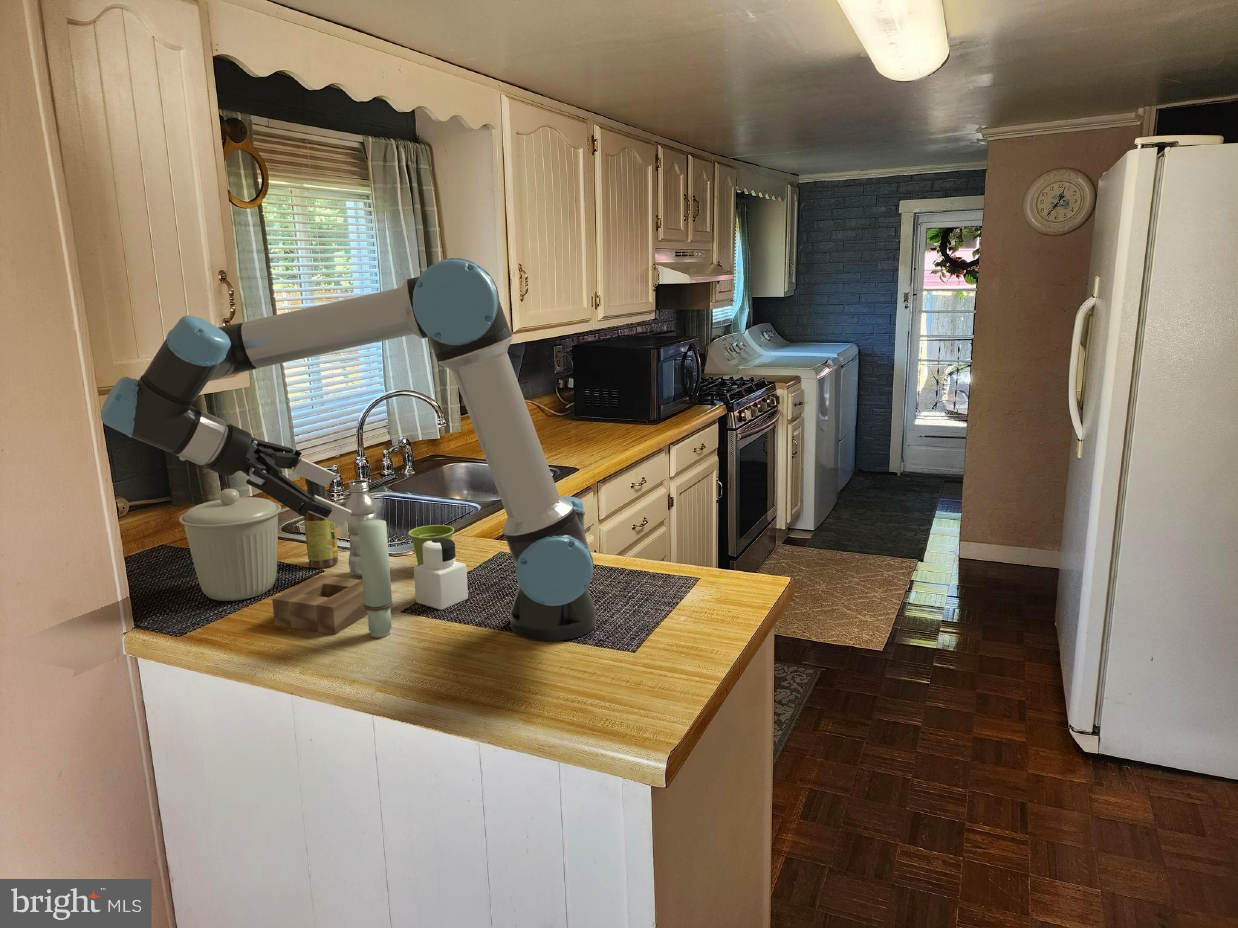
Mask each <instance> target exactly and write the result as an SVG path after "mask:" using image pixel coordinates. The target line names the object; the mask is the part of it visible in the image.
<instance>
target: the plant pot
mask: <svg viewBox="0 0 1238 928" xmlns="http://www.w3.org/2000/svg"><path fill="white" fill-rule="evenodd" d="M454 533H455V528H454V527H452V526H449V525H445V524H443V525H442V524H432V525H423V526H417V527H415V528H413V529H411V530H409V531H408V533H407V534H408V536H409V537H410V539H411V542H412V544H413V548H414V552H415V556H416V562H417V566H420V565H422V564H424V563H423V548H422V545H423V544H424V543H425V542H427V541H429V540H431V539H436V538H446V539H450V540H452V538H453V534H454Z"/></svg>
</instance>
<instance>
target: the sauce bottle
mask: <svg viewBox="0 0 1238 928" xmlns="http://www.w3.org/2000/svg"><path fill="white" fill-rule="evenodd" d="M304 480H305V481H304V482H305V484H306V492H307V493H308V494H310V495H311V496H312V497H314V495H316V496H319V497H321V498H323V499H325V500H328V501H330V499H329V497H328V495H327V489H326V488H327V487H324V486H322V485H320V484H318V483H315V482H313V481H311V480H309V479H306V478H304ZM303 518H304V519H303V522H304V533H305V541H306V542H305V543H306V551H307V559H308V563H309V566H310V568H315V569H324V568H330V567H332V566H336V564H337V563H338V562H339V549H338V548H339V547H338V538H337V536H338V535H337V528H336V527H337V526H336V525H337V524H336V523H334V522H331V521H329V520H327V519H324V518H322V517H319V516H317V515H315V514H312V513H310V512H307V514H306V515H305V516H303Z"/></svg>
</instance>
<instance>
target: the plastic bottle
mask: <svg viewBox="0 0 1238 928" xmlns="http://www.w3.org/2000/svg"><path fill="white" fill-rule="evenodd" d="M348 486H349V488H348V491H349V492H350V495H349V497H348V498H347V500H346V502H345V504H344V508H346V509H348V510H351V512H352V513H351V515H350V516H349V518H348V519H347V520H346V522H347V526H348V527H347V528H348V533H349V534H348V535H349V555H348V568H349V572H350V573H351V574H352V575H353V576H354V577H359V578H362V570H361V558H360V545H359V533H358V524H359V523H360V522H363V521H367V520H377V512H378V505H377V502H376V500H375V499H374V497H373V496H372V495H371V494H370V493H369V491H370V488H369V482H368V480H366V479H358V480H357V479H356V480H351V481H349V485H348Z"/></svg>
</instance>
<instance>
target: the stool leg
mask: <svg viewBox="0 0 1238 928" xmlns="http://www.w3.org/2000/svg"><path fill="white" fill-rule="evenodd" d="M358 533H359V545H360V558H361V570H362V577H361V578H362V579H361V580H362V582H363V594H364V608H365V609H366V610H367V613H368V615H367V624H368V625H367V626H368V632H369V633H370V636H371V637H372V638H375V639H382V638H386V637H388V636H389V635H391V630H392V627H393V626H392V614H391V607H392V606H393V600H392V599H393V598H392V597H393V596H392V581H391V572H390V571H391V569H390V556H389V543H388V528H387V521H385V520H382V519H376V520H367V521H363V522H360V523H359V524H358Z"/></svg>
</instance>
